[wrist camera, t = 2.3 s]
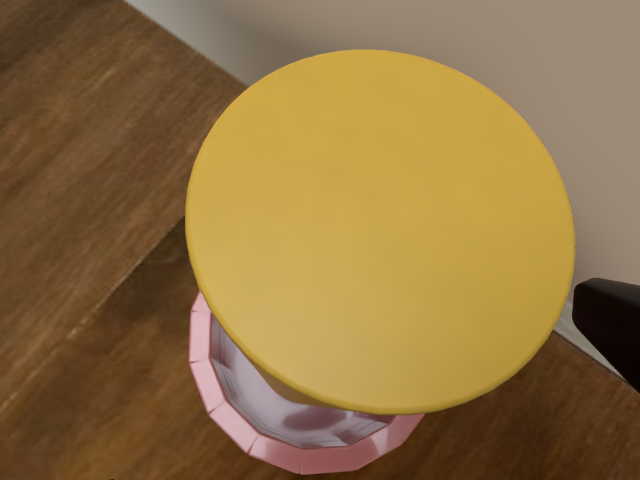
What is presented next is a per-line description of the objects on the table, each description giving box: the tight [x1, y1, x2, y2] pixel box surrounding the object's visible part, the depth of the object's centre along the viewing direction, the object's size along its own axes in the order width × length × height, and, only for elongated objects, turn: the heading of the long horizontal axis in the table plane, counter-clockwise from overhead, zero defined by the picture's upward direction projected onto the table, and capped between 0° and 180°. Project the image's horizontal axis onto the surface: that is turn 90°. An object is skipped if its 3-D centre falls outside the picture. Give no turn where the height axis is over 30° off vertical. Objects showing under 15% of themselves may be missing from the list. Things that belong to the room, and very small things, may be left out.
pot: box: [188, 291, 425, 475], centre depth 15 cm, size 7×7×6 cm
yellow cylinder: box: [185, 49, 576, 415], centre depth 10 cm, size 4×4×12 cm
